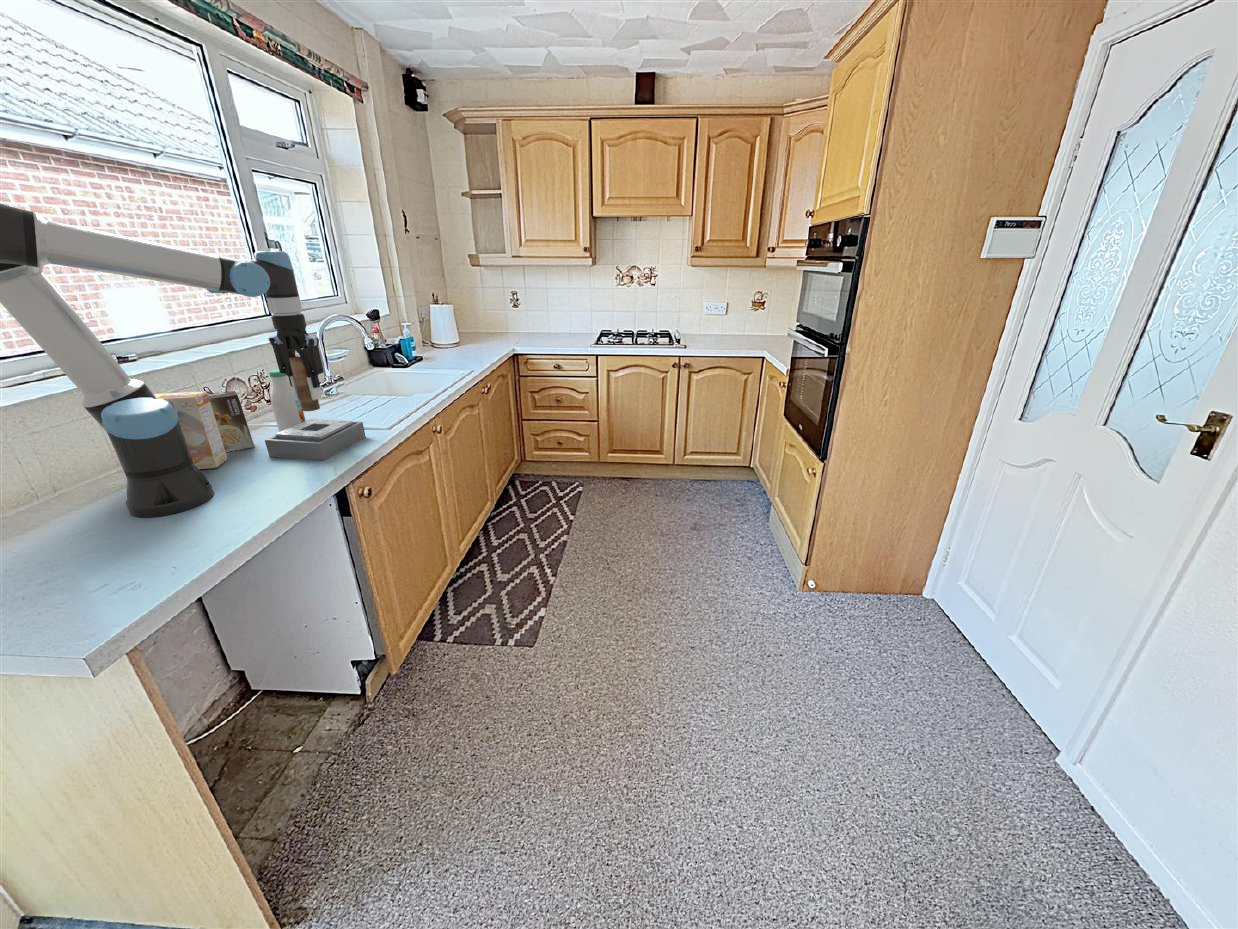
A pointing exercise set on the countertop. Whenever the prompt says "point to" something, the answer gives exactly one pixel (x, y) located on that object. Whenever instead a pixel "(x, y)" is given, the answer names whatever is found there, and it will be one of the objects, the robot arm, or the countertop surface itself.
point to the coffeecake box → (198, 427)
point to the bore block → (313, 430)
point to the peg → (302, 384)
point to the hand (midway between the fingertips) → (308, 398)
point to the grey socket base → (316, 444)
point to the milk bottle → (284, 402)
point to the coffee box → (231, 421)
